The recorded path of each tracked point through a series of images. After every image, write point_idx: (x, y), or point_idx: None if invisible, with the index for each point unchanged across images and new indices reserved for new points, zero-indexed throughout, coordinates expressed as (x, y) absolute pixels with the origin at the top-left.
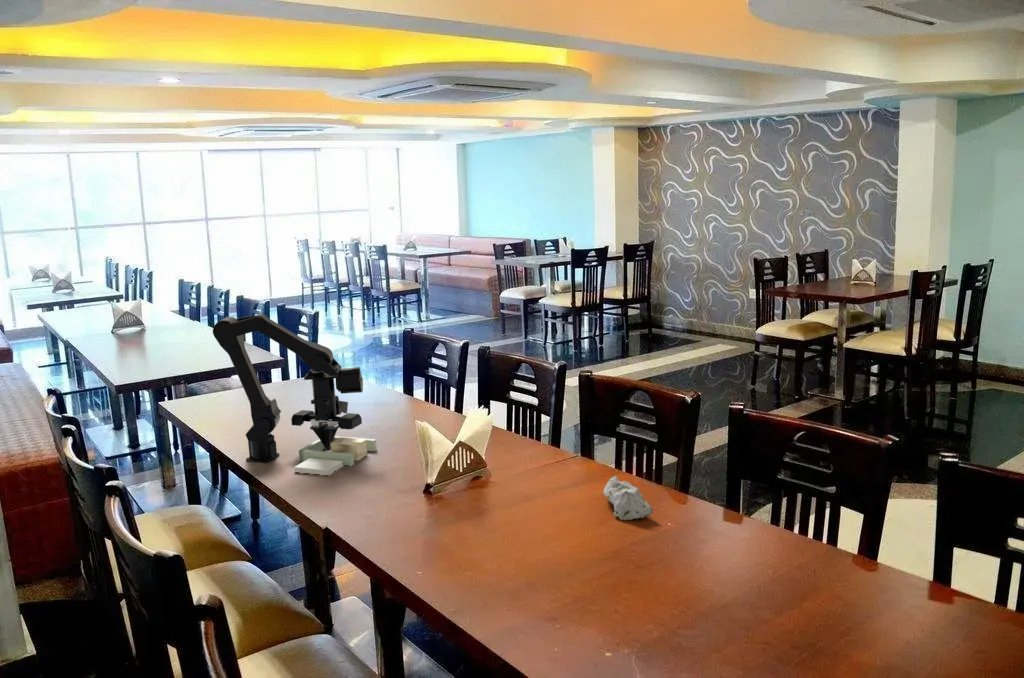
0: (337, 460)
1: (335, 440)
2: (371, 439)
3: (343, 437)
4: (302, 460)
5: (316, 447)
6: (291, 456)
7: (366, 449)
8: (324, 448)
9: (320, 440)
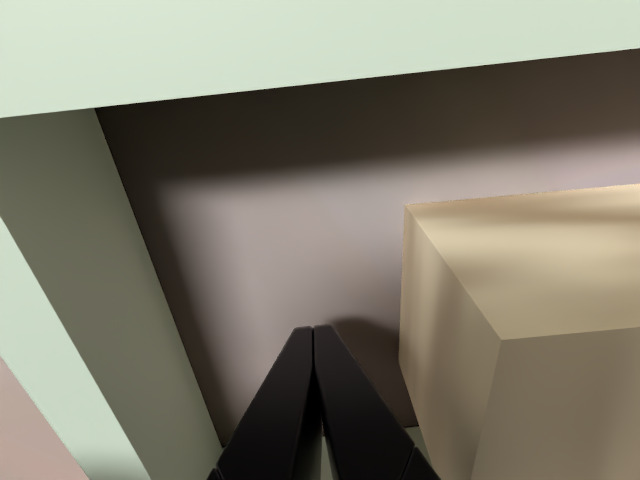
0: None
1: (482, 471)
2: None
3: (372, 17)
4: None
5: (149, 378)
6: (29, 432)
7: None
8: (119, 191)
9: (67, 343)
